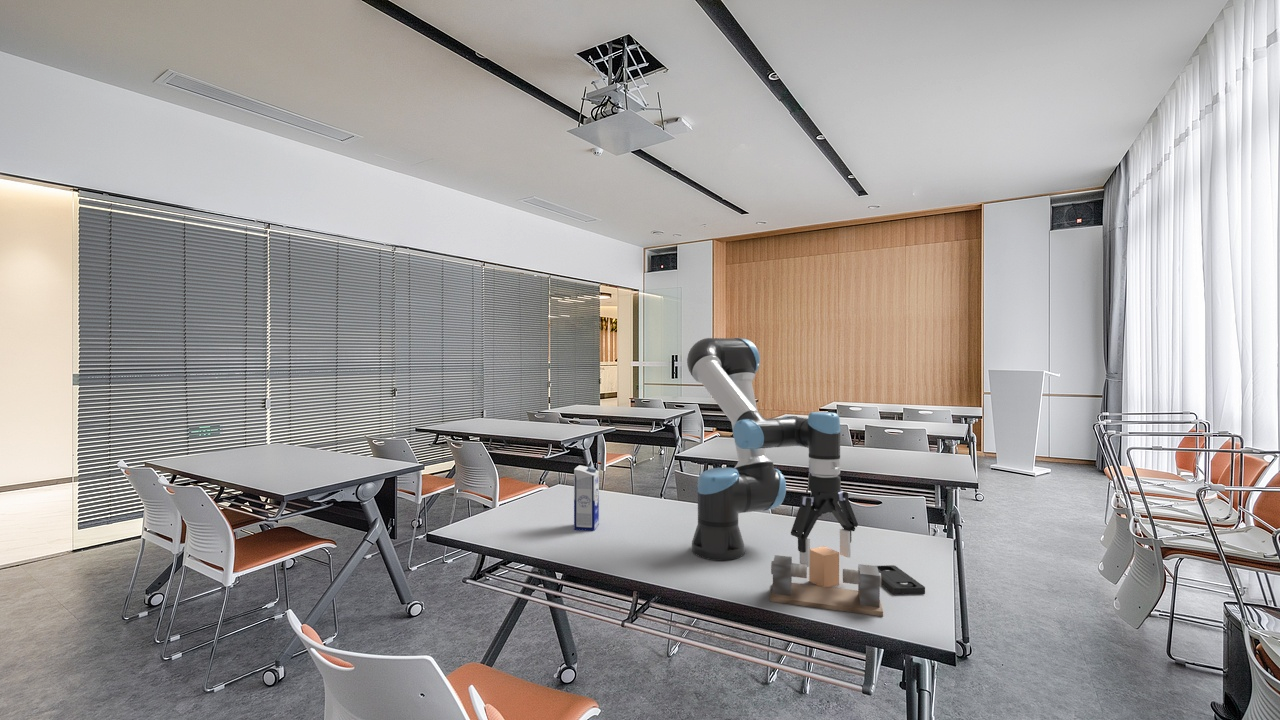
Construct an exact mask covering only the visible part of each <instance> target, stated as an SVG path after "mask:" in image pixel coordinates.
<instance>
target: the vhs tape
mask: <svg viewBox="0 0 1280 720" xmlns="http://www.w3.org/2000/svg"><path fill="white" fill-rule="evenodd" d="M876 566H877V568H878V571H879V573H881V586H883V587H884V588H885V589H886V590H887V591H889V592H890V593H891V594H892V595H893V596H894V595H898V596H899V595H925V593H926V586H924V585H923V584H921V583H920V582H919V581H917V580H916V579H914V578H913V577H912V576H910V575H909V574H907V572H905V571H903V570H902V569H900V568H899V567H898V566H897V565H894V564H893V565H892V564H891V565H889V564H888V565H887V564H886V565H876Z"/></svg>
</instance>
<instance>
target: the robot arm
mask: <svg viewBox="0 0 1280 720" xmlns="http://www.w3.org/2000/svg"><path fill="white" fill-rule="evenodd" d="M760 362H761V357H760V353H759V349H758V348H757V346H756V345H755V344H754V343H753V341H751V340H749V339H748V338H747V339H746V338H740V337H734V338H729V337H725V338H724V337H723V338H721V337H719V338H717V337H715V338H714V337H705V338H703V339H700V340H698V341H697V342H695V343H693V345H692V346H691V348H690V349H689V351H688V353H687V358H686V364H687V369H688V372H689V373H690V376H692V378H693V379H694V380H695V382H698V383H700V384H702V385H703V386H704V388H705V390H706V391H707V392H708V394H709V395H710V396H711V397H712V399H713V400H714V402H716V404H717V405H718V406H719V408H720V409H721V411H723V413H724V415H725V416H726V417H727V418H728V420H729V422H731V428H732V437H733V439H734V444H735V451H736V455H737V463H736V464H735V466H734V467H729V466H728V467H727V466H725V467H714V468H710V469H706V470H704V471H702V472H701V473H700V474H699V475H698V479H697V487H696V490H697V525H696V528H695V531H694V533H693V534H694V535H693V537H692V540H691V552H692V553H693V554H694V555H695V556H697V557H700V558H703V559H706V560H713V561H732V560H736V559H740V558H741V557H743V556H744V555H745V541H744V539H743V536H742V532H741V530H740V526H739V514H741V513H742V514H743V513H752V512H753V513H754V512H760V511H763V512H765V511H769V510H773V509H777V508H778V507H780V506H781V505H782V504H783V502H784V500H785V498H786V493H787V483H786V478H785V476H784V474H782V471H780V470H779V469H777V468H775V465H774V461H773V460H771V459H770V458H768V456H767V452H766V449H770V448H787V447H803V448H807V449H808V473H810V474H809V475H808V489H809V491H810V492H811V494H810V496H804V495H801V497H800V502H799V503H800V504H799V507H798V509H797V513H796V516H795V519H794V522H793V523H792V524H793V525H792V527H791V531H790V535H791V536H792V537H795V538H797V550H798V552H799V564H805V565H807V568H809V567H810V549H811V539H810V538H808V537H809V535H810V533H811V532H812V530H813V528H814V526H815V525H816V523H817V521H818V519H819V518H820V517H821V516H822V515H824V514H828V513H832V514H833V516H834V517H835V519H836V520H837V522H838V523H839V525H840V526H841V528H839V556H843V557H846V558H849V559H850V558H851V543H852V532H855V531H856V528H858V526H859V523H858V521H857V518H856V515H855V513H854V510H853V508H852V505H851V502H850V499H849V493H848V492H847V491H843V490H841V489H842V486H841V485H842V484H841V482H842V481H841V476H840V475H841V432H842V431H841V421H840V416H839V414H838V413H836V412H831V411H830V412H828V411H813V412H812V411H811V412H809V414H808V415H807V417H808V418H807V417H800V416H799V417H798V416H796V415H791V416H788V415H785V416H783V417H780V418H779V417H778V418H777V417H776V418H764V416H763V415H762V414H761V413H760V412H759V411H758V407H757V402H756V396H755V391H754V386H753V380H754V379H755V378H756V373H757V371H758V370H759V368H760V364H759V363H760Z"/></svg>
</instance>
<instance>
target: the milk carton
mask: <svg viewBox="0 0 1280 720" xmlns="http://www.w3.org/2000/svg"><path fill="white" fill-rule="evenodd" d="M573 469H574V470H573V531H586V532H587V531H588V532H589V531H590V532H595V530H596V529H597V527H598V526H599V524H600V523H599V522H600V515H599V514H600V506H599V505H600V503H599V502H600V500H599V499H600V494H599V493H600V491H599V490H600V487H599V486H600V484H599V483H600V478H599V477H600V475H599V474H600V471H599V470H597V468H595V467H593V466H585V465H581V464H580V465H578V466H576V467H575V468H573Z"/></svg>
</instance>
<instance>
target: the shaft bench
mask: <svg viewBox="0 0 1280 720" xmlns="http://www.w3.org/2000/svg"><path fill="white" fill-rule="evenodd" d="M792 559H793V558H792V556H786V555H778V554H777V555H776V554H775V555H774V557H773V560H771V564H770V574H771V575H772V584H771V589H770V595H769V602H770V603H771V602H772V603H779V604H786V605H787V604H788V605H794V606H802V607H811V608H818V609H824V610H831V611H839V612H847V613H855V614H861V615H868V616H869V615H870V616H878V617H884V610H883V606H882V603H881V597H880V596H881V595H880V593H881V591H880V590H881V589H880V588H882V585H881V573H879V571H878V568H877V566H878V565H870V564H860V563H858V569H848V568H847V569H846V568H842V583H845V584H852V585H857V587H858V588H857V589H858V590H856V589H849V588H848V589H846V588H841V587H840V588H839V587H833V586H832V587H824V586H818V585H816V584H815V585H814V584H807V583H799V582H793V581H792V578H802V579H807V577H808V575H807V574H808V573H807V572H808V569H807V568H808V567H807V565H805V564H800V563H794V562H792V561H793V560H792Z"/></svg>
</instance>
